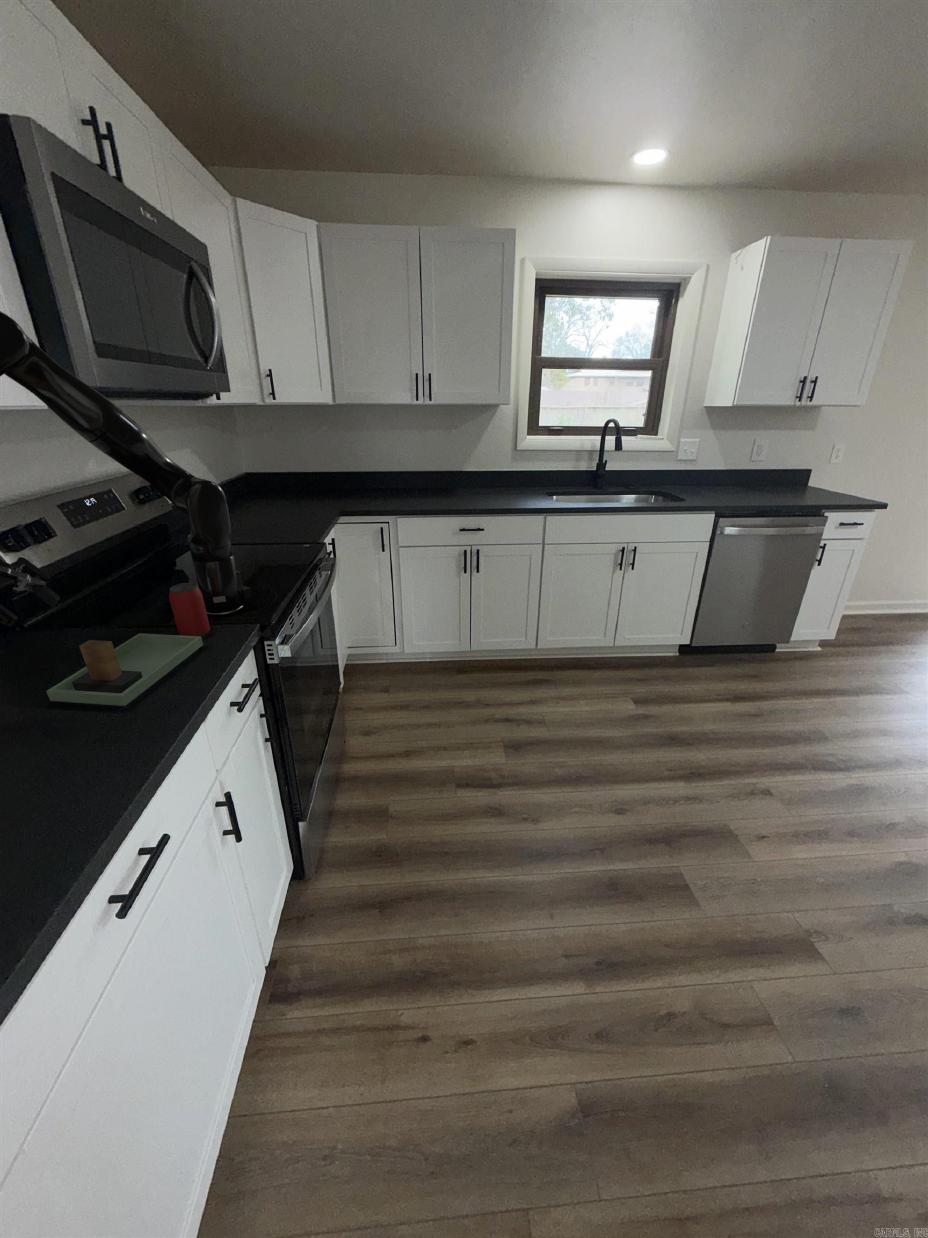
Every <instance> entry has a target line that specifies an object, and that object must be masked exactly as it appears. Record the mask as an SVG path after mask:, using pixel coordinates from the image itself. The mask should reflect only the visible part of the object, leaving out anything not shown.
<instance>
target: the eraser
mask: <svg viewBox="0 0 928 1238" xmlns="http://www.w3.org/2000/svg"><path fill="white" fill-rule="evenodd" d="M78 647H79V649H80V653H81V655H82V657H83V661H84V663H85V667H86V666H87V669H88V672H87V673H86V674H84V675H82V676H81V677H79V678H78V679H76V680H75V681H73V682H72V684H73V687H74V689H75V691H90V692H105V693H120V694H121V693H122V692H124V691H125V690H126V689H128V688H129V687H130V686H132V685H133V684H134V683H136V682H137V681H139V680H140V679H141V678H143V676H142V673H141V672H139V671H122V670H121V668H120V665H119V662H118V659H117V656H116V653H115V650H114V649H115V648H114V644H113V641H111V640H95V639H88V640H87V641H85V642H84V643H81V644H80V645H78Z"/></svg>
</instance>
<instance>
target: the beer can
mask: <svg viewBox="0 0 928 1238" xmlns="http://www.w3.org/2000/svg"><path fill="white" fill-rule="evenodd" d="M168 599H169V600H168V601H169V604H170V607H171V611H172V614H173V618H174V621H175V622H174V623H175V625H176V630H177V633H178V635H181V636H200V637H202V636H203V635H206V634H208V633H209V632H210V631H211V626H210V625H211V624H210V622H209V617H208V615H207V613H206V609H205V604H204V600H203V596H202V593H201V591H200V589H199V586H198V583H194V582H183V583H178V584H175V585H172V586H171V587H169V594H168Z"/></svg>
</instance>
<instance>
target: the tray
mask: <svg viewBox="0 0 928 1238" xmlns="http://www.w3.org/2000/svg"><path fill="white" fill-rule="evenodd" d="M202 638H203V637H202V636H181V635H179V634H163V633H162V634H160V633H142V632H141V633H137V634H136V635H134V636H133V637H131V638H129V639H128V640H126V641H125V642H123V643H121V644H120V645H118V646H116V647H115V648H114V650H115V653H116V656H117V659H118V662H119V665H120V668H121V670H122V671H139V672H141V673H142V676H143V678H141V679H140V680H139V681H137V682H136V683H134V684H133V685H132V686H130V687H129V688H128V689H126V690H125V691H124V692H122V693H121V694H120V693H105V692H90V691H75V689H74V687H73V684H72V682H73V681H75V680H76V679H78V678H79V677H81V676H82V675H84V674H86V673H87V672H88V669H87V666H86V665H85V666H84V667H83V668H81V669H80V670H78V671H76V672H75V673H73V674H71V675H70V676H68V677H66V678H65V679H63V680H62V681H60V682H59V683H57V684H56V685H54V686H52V687H50V688H49V689H47V690H46V695H47V696H48V699H49V701H50V702H63V703H74V704H75V703H77V704H78V703H79V704H91V705H104V706H105V705H108V706H121V707H126V706H127V705H128V704H130V703H131V702H133V700H135V699H136V698H137V697H139V696H140V695H141V694H142V693H144V692H145V691H146V690H147V689H149V688H150V687H151V686H153V685H155V683H156V682H158V680H159V681H160V679H162V678H163V677H164V676H165V675H167V674H168V673H169V672H170V671H172V670H173V669H174V668H176V667H177V666H178V665H179V664H180V663H181V664H182V662H183V661H185V660H186V659H187V658H188V657H190V656H191V655H192V654H194V653H195V652H196V651H198V650H199V648H201V647H202V646H204V643H203V639H202Z"/></svg>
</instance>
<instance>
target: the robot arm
mask: <svg viewBox="0 0 928 1238" xmlns="http://www.w3.org/2000/svg"><path fill="white" fill-rule="evenodd" d="M3 375H4V376H6V377H8V378H9V379H11V380H13V381H14V382H16V383H17V384H19V385H20V386H21V387H23V388H24V389H25V390H27V391H29V392H30V393H31V394H32V395H34V396H35V397H36V398H38V399H39V400H40V401H41V402H42V403H43V404H45V405H46V406H47V407H48V408H49V409H50V410H51V411H52V412H53V414H55V415H56V416H57V417H59V419H60V420H61V421H63V422H64V423H65V424H66V425H67V426H69V427H70V428H71V429H72V430H73V431H74V432H76V433H77V434H78V435H79V436H80V437H82V439H84V440H85V441H87V442H88V443H90V444H91V445H92V446H93V447H95V448H96V449H98V450H99V451H100V452H101V453H103V454H104V455H106V456H108V457H109V458H111V459H112V460H113V461H115V462H116V463H118V464H119V465H121V466H122V467H123V468H126V469H127V470H128V471H129V472H131V473H133V474H135V475H137V476H138V477H140V478H141V479H143V480H145V481H146V482H147V483H148V484H150V485H151V486H152V487H153V488H155V489H156V490H157V491H158V492H159V493H160V494H162V495H163V496H164V497H165V498H167V500H168V501H169V502H170V503H172V505H173V506H175V507H176V508H177V509H178V510H179V511H181V513H184V514H185V515H187V517H188V520H189V525H190V534H188V536H187V542H188V548H189V551H190V556H191V560H192V564H193V568H194V572H195V576H196V581H197V587H198V588H199V589H200V591H201V593H202V596H203V600H204V604H205V609H206V613H207V616H209V617H225V616H229V615H234V614H235V613H238V612H240V611H241V610H243V609H244V608H247V606H248V604H247V602H248V603H250V602H251V600H252V597H253V596H252V591H251V587H248V586H246V585H243V580H242V575H241V572H240V571H238V570H237V568H236V563H235V557H234V553H233V548H232V543H231V533H232V525H231V517H230V512H229V506H228V501H227V497H226V494H225V491H224V490H223V488H222V487H221V486H220V485H219V484H217V483H216V482H215V481H212V480H209V479H205V478H201V477H198V476H196V475H194V474H192V473H191V472H189V471H188V470H186V469H185V468H184V467H182V466H180V465H179V464H178V463H176V462H175V461H174V460H173V459H171V458H170V457H169V456H168V455H167V454H166V453H165V452H164V451H163V450H162V448H161V447H160V446H159V444H157V442H156V441H155V439H153V437H152V436H151V434H150V433H148V431H147V430H145V428H144V427H143V426H141V424H140V423H139V422H137V421H136V420H135V419H134V418H133V417H132V416H130V415H129V414H128V413H126V412H125V411H124V410H123V409H122V408H120V407H119V406H118V405H116V404H115V403H114V402H113V401H111V400H110V399H109V398H108V397H106V396H105V395H104V394H102V393H101V392H99V391H97V390H96V389H95V388H93V387H92V386H90V385H89V384H87V383H86V382H84V381H83V380H81V379H79V378H78V377H76V376H75V375H73V374H72V373H71V372H69V371H67V369H66V368H63V366H61V365H60V364H59V363H57V362H56V361H55V360H54V359H53V358H52V357H51V356H49V354H47V352H45V351H44V350H43V349H42V348H41V347H40V346H39V345H38V344H37V343H36V342H34V341H33V340H32V339H31V338H30V337H29V335H27V334H26V332H25V331H24V330H23V328H22V327H21V325H20V324H19V323H18V322H17V321H16V320H15V319H14V318H12V317H11V316H9V315H8V314H6V313H5V312H2V311H0V377H2V376H3ZM18 580H20V581H19V582H18ZM50 580H51V576H50V575H49V574H47V572H45V571H43V570H42V569H40V568H39V567H38V566H37V565H35V564H33V563H32V562H31V561H29V560H28V559H26V558H25V557H23V556H19V557H17V559H16V561H14V562H11V563H9V562H6V561H4V560H2V559H1V558H0V595H2V594H3V593H8V592H10V591H12V590H15V591H19V592H23V591H26V592H31V593H34V594H35V595H36V596H37V597H38V598H39V599H41V600H42V601H43V602H44V603H46V604H47V605H48V606H50V607H51V608H55V607H57V606H59V604H60V603H61V601H62V600H61V598H60V595H59V594H57V593H56V592H55V591H54V590H52V589H51V588H50V587H48V586H47V584H48V583H49V581H50ZM18 621H19V617H18V616H17V615H16V614H14V613H13V612H12V611H10V610H9V609H8V608H6V607H5V606H4V605H2V604H1V603H0V624H1V625H5V626H7V627H13V626H15V625H17V622H18Z"/></svg>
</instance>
